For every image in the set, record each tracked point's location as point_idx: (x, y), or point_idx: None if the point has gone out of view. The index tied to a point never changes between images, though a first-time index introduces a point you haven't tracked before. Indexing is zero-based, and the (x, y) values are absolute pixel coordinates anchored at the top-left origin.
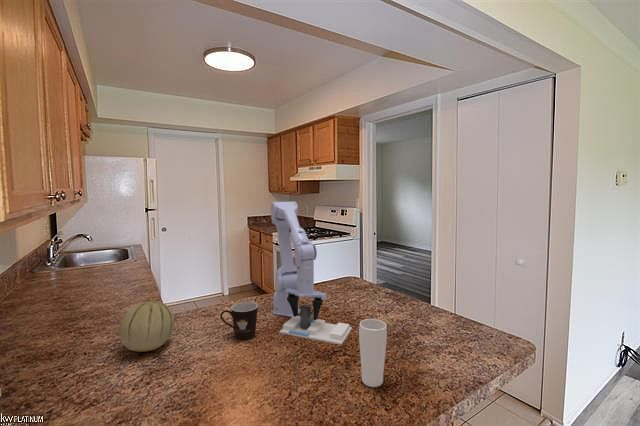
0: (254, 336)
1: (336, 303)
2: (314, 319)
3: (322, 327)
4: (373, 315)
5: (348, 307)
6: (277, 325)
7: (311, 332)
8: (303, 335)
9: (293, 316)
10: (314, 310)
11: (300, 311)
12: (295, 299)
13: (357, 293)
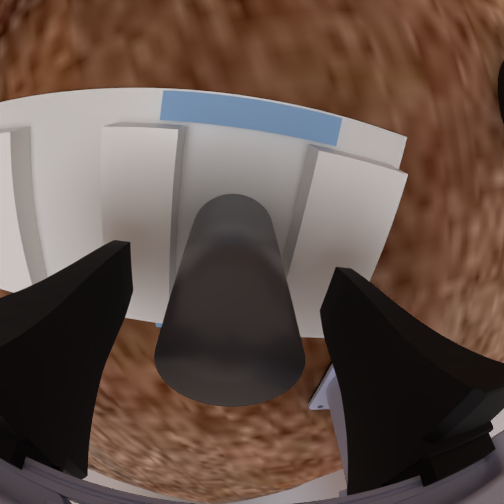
0: (498, 91)
1: (186, 449)
2: (120, 243)
3: None
4: None
5: (130, 432)
6: (423, 238)
7: (140, 125)
8: (205, 94)
9: None
10: (60, 286)
11: (287, 296)
12: (395, 430)
13: (157, 475)
